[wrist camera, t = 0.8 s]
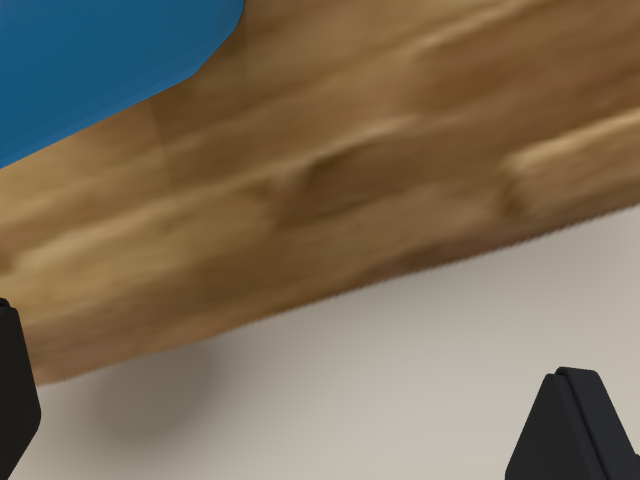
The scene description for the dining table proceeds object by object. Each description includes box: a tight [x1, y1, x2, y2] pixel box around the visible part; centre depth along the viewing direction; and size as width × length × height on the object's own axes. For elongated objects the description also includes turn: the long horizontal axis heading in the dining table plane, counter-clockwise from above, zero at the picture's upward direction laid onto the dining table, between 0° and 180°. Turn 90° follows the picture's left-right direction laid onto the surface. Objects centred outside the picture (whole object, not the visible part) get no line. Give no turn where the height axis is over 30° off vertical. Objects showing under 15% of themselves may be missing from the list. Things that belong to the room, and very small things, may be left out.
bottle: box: [0, 0, 244, 169], centre depth 21 cm, size 7×7×30 cm
